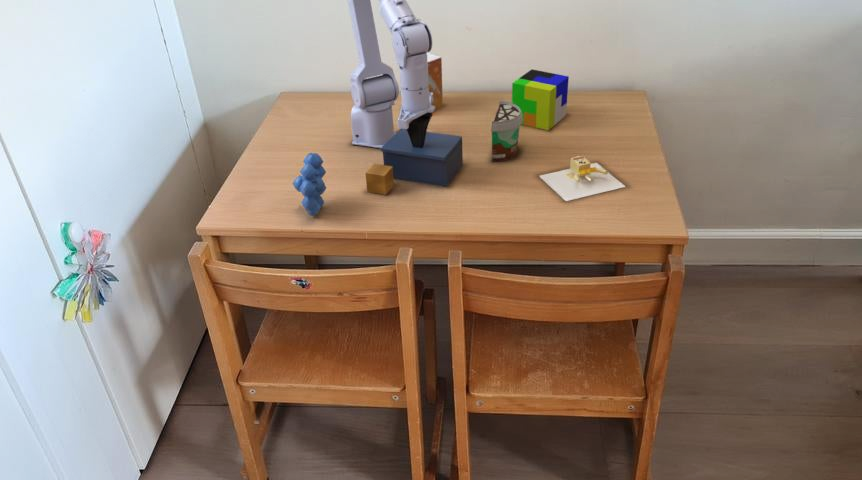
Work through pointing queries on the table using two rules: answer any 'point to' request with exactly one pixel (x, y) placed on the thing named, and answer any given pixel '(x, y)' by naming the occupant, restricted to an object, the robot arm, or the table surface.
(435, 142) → the lid
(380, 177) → the block
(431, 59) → the small box
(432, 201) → the table surface
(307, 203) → the grapes
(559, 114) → the puzzle toy
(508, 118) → the food container
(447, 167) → the toy box
